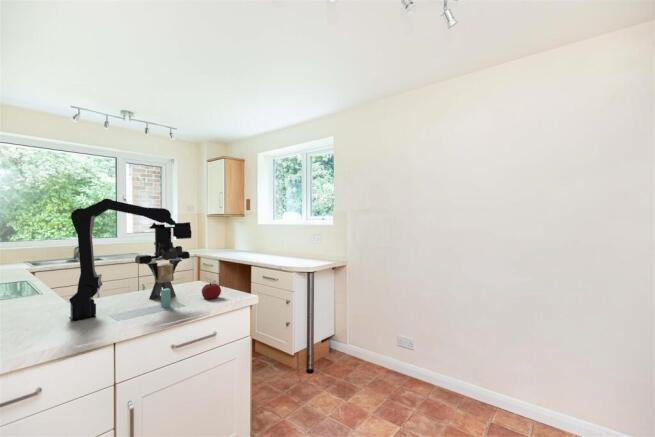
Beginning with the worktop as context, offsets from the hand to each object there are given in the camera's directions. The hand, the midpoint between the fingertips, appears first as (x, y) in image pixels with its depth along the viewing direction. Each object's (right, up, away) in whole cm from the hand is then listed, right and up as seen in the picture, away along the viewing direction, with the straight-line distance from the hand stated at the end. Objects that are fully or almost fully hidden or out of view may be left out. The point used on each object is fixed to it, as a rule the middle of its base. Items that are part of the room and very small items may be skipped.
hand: (164, 278), depth 122 cm
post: (0, -12, +1) cm, 12 cm away
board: (-4, -12, -4) cm, 13 cm away
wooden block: (0, -1, 0) cm, 1 cm away
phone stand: (-9, -12, +15) cm, 21 cm away
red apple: (+13, -12, +15) cm, 23 cm away
